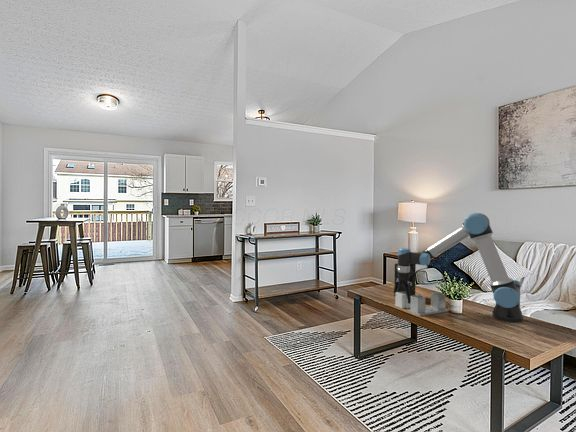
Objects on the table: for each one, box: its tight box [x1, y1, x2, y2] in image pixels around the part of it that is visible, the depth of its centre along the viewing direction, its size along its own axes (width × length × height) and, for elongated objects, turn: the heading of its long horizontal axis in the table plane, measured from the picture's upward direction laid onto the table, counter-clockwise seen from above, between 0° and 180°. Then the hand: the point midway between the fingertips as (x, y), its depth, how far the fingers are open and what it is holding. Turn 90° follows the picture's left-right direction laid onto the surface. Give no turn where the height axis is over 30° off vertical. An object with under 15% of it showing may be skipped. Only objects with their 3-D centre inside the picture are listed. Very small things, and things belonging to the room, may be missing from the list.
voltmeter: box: [393, 262, 417, 297], centre depth 236 cm, size 16×9×25 cm, turn 120°
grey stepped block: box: [406, 291, 449, 317], centre depth 202 cm, size 24×10×11 cm, turn 113°
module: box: [394, 291, 411, 309], centre depth 212 cm, size 8×6×9 cm
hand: (403, 306), depth 212 cm, fingers open, 8 cm apart
